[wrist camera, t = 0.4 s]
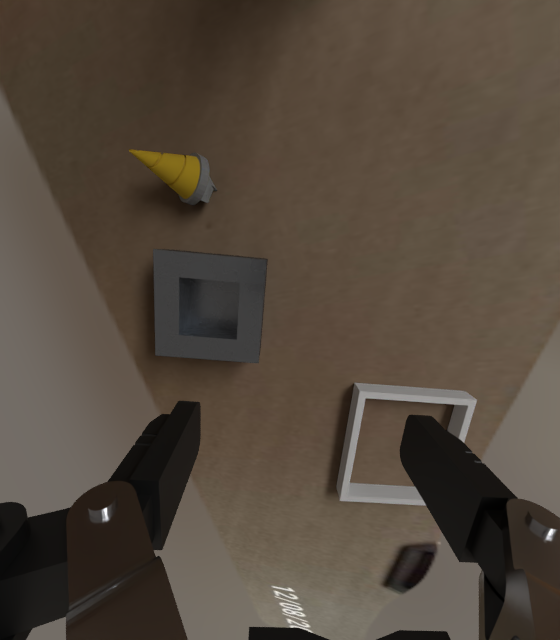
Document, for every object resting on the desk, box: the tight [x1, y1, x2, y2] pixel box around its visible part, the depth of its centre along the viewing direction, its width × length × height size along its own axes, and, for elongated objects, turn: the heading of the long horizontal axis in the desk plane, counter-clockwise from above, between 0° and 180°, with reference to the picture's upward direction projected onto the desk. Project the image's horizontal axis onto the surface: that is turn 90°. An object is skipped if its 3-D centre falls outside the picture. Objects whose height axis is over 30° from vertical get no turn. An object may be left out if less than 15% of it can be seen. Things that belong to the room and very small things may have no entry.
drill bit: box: [129, 149, 217, 205], centre depth 29 cm, size 5×5×10 cm
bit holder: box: [153, 249, 268, 363], centre depth 34 cm, size 12×12×6 cm
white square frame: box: [336, 383, 477, 505], centre depth 41 cm, size 19×17×2 cm
